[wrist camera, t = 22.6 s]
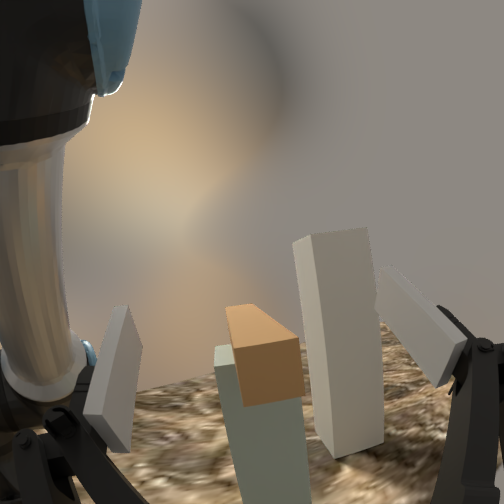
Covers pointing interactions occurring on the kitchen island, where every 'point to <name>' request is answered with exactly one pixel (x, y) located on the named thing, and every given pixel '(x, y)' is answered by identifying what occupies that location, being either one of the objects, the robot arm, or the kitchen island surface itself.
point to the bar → (264, 356)
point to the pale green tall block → (263, 441)
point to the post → (342, 338)
